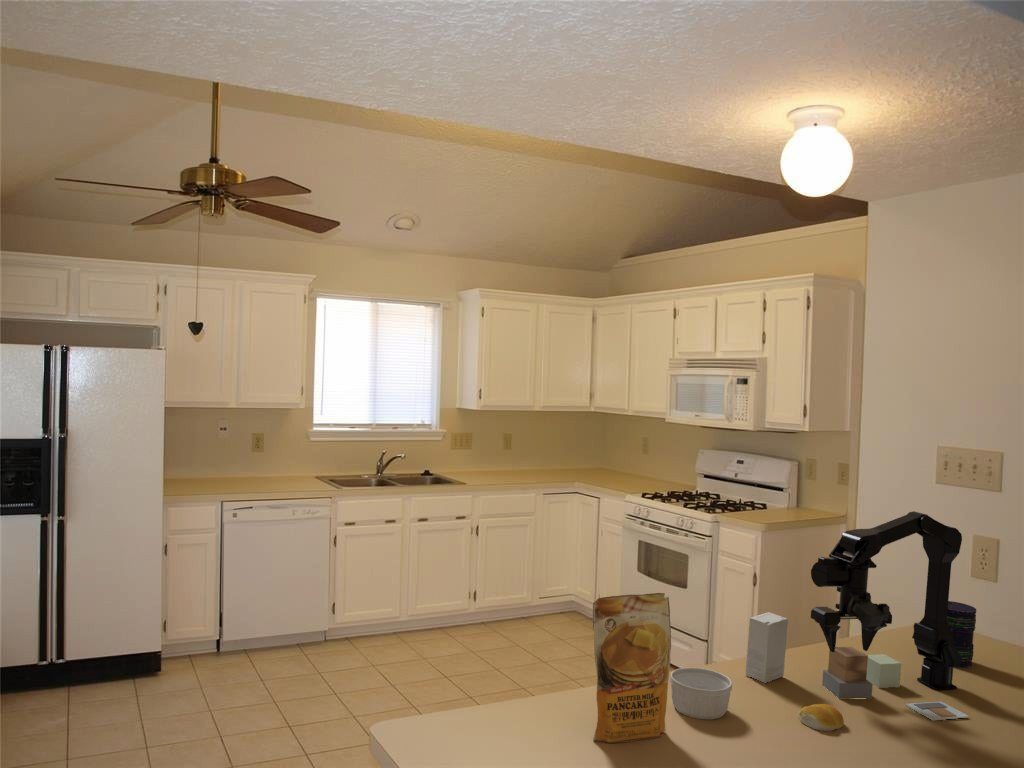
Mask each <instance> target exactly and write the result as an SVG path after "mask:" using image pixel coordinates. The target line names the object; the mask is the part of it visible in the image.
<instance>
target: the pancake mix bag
mask: <svg viewBox="0 0 1024 768" xmlns="http://www.w3.org/2000/svg"><path fill="white" fill-rule="evenodd" d="M665 594H666V593H664V592H655V593H644V594H623V595H611V596H605V597H604V596H603V597H598V598H597V599H596V600H595V601H593V603H592V604H593V605H592V630H593V637H594V638H593V639H594V641H593V642H594V645H593V646H594V660H595V661H594V662H595V669H596V676H597V677H596V705H597V722H596V728H595V731H594V735H593V741H598V742H600V741H601V742H603V743H606V744H617V743H629V742H635V741H641V740H651V739H657V738H661V734H663V733H664V732H666V721H665V720H666V712H667V703H668V689H669V680H670V670H671V669H670V667H671V652H672V651H671V650H672V631H671V630H672V629H671V609H670V600H669V599H670V598H669V596H665Z"/></svg>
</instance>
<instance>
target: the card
mask: <svg viewBox="0 0 1024 768" xmlns="http://www.w3.org/2000/svg"><path fill="white" fill-rule="evenodd" d="M906 705H907V706H908V707H910V708H911V709H910V708H909V709H910V710H912V709H913V710H912V711H914V710H915V711H917V712H919V713H920V714H922V715H924V716H926V717H927V718H929V719H931V720H942V719H956V718H969V719H970V716H969V715H967V714H966V713H964V712H962V711H960V710H958V709H957V708H954V707H953V706H950V705H949V704H947V703H945V702H943V701H929V702H928V701H927V702H914V703H913V702H912V703H910V702H909V703H905V706H906ZM907 706H906V707H907ZM908 707H907V708H908ZM915 711H914V712H915ZM917 712H916V713H917ZM919 713H918V714H919ZM920 714H919V715H920ZM922 715H921V716H922ZM924 716H923V717H924ZM926 717H925V718H926ZM927 718H926V719H927ZM929 719H928V720H929ZM931 720H930V721H931ZM956 720H957V719H956Z"/></svg>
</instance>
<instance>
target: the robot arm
mask: <svg viewBox="0 0 1024 768" xmlns="http://www.w3.org/2000/svg"><path fill="white" fill-rule="evenodd" d="M915 534H917V535H919V536H921V537H922V548H923V549H924V552H925V554H926V557H927V558H928V563H927V564H928V566H927V577H926V588H925V589H926V591H925V605H924V613H923V614H924V615H923V617H922V619H921V620H920V621H919V622H914V623H913V634H912V637H911V638H912V639H913V641H914V646H916V650H917V654H918V655H919V656H922V657H923V661H922V664H921V673H920V677H917V678H916V680H917V681H918V682H920V683H921V684H924V685H926V686H928V687H929V688H932V689H933V690H935V691H942V690H956V689H958V687H957V685H956V684H953V676H954V674H953V673H954V668H957V667H956V666H959V665H960V663H961V660H962V657H961V655H960V654H959V653H958V651H957V650H956V649H955V647H954V646H953V634H952V631H951V629H950V627H949V625H948V622H947V612H948V601H949V598H950V597H949V595H950V584H951V574H952V573H951V572H952V563H953V561H954V560H955V559H956V558H957V556H959V554H960V551H961V548H962V547H961V546H962V543H963V537H962V536H963V534H962V532H960V530H959V529H957V528H956V527H953V526H948V525H946V524H943V523H941V522H939V521H938V520H935V519H934V518H932V517H931V516H930V515H928V514H925V513H922V512H918V511H916V510H915V511H909V512H907V513H906V515H902V516H900V517H897V518H895V519H892V520H889V521H887V522H885V523H881V524H879V525H876V526H874V527H871V528H855V529H849V530H846V531H844V532H842V534H841V536H840V538H839V540H838V541H837V543H836V544H835V546H834V547H833V549H832V550H831V551H830V553H829V554H828V557H825V556H819V557H818V558H817V561H816V562H815V563H814V564H813V565H812V567H811V569H810V578H811V580H812V583H813V584H814V585H815V586H816V587H818V588H831V587H832V588H835V587H836V592H838V593H839V601H838V602H839V603H835V609H837V610H835V609H832V608H831V607H828V606H814V607H812V608H811V610H810V619H812V620H814V622H815V623H817V624H819V626H820V629H821V631H822V632H823V636H824V638H825V641H826V643H827V646H828V648H829V651H831V652H834V651H835V647H837V646H836V644H837V632H838V631H839V630H840V629H841V626H840V625H839V624H840V623H841V620H858V621H859V622H860V625H861V627H860V628H861V644H862V649H863V651H865V652H868V651H869V648H870V646H871V645H872V642H873V640H874V638H875V636H876V634H878V631H879V630H882V629H883V628H886V627H887V626H888V625H891V624H892V622H893V615H892V612H891V611H890V605H888V604H887V603H879V604H878V603H873V602H872V595H871V593H870V592H869V591H868V582H869V581H868V578H869V569H876V568H877V563H875V562H874V561H873V559H872V558H873V557H875V556H876V555H878V554H879V553H880V552H881V550H882V548H883V547H885V546H887V545H890V544H891V543H894V542H897V541H899V540H902V539H904V538H907V537H910V536H912V535H915Z"/></svg>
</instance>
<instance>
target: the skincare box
mask: <svg viewBox="0 0 1024 768" xmlns="http://www.w3.org/2000/svg"><path fill="white" fill-rule="evenodd" d="M788 623H789V619H788V618H786V617H784V616H781V615H778V614H775V613H773V612H769V611H768V612H765V613H761V614H758V615H755V616H751V617H749V625H748V626H749V627H748V635H747V636H748V637H747V649H746V662H745V664H746V665H745V676H747V677H748V678H750V677H752V678H751V679H753V678H754V679H753V680H755V679H757V680H756V681H758V680H759V681H758V682H760V681H762V682H764V683H763V684H768V683H770V682H772V680H773V681H775V680H777V679H781V678H782V677H784V675H785V674H784V673H785V661H786V660H785V659H786V651H787V650H786V647H787V638H788V637H787V636H788ZM762 682H761V683H762ZM767 682H768V683H767Z"/></svg>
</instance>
